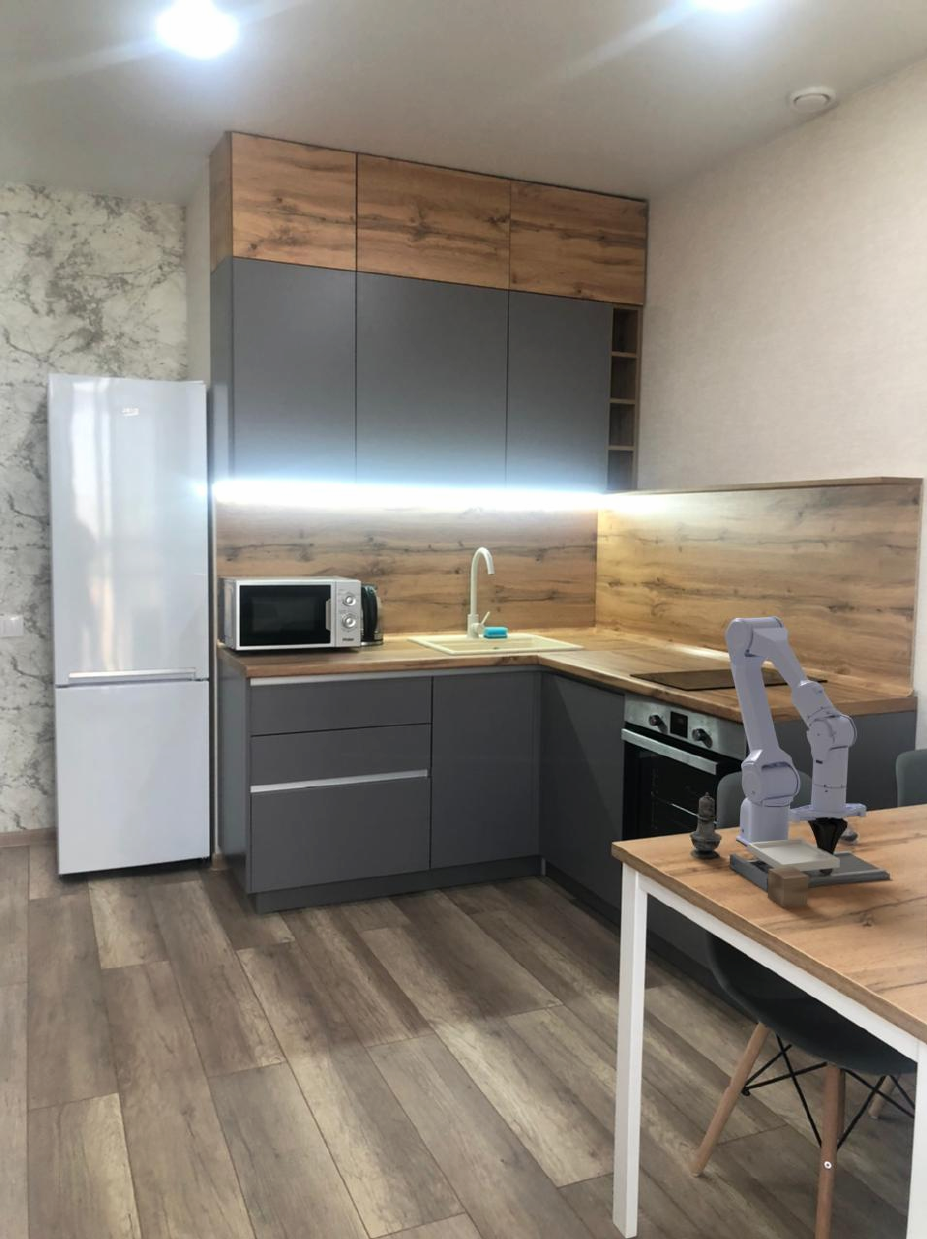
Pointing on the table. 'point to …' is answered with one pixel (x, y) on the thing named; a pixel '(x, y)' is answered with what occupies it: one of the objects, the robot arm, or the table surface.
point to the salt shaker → (705, 831)
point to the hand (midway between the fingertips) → (825, 858)
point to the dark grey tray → (813, 871)
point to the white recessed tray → (794, 855)
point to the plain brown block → (788, 887)
